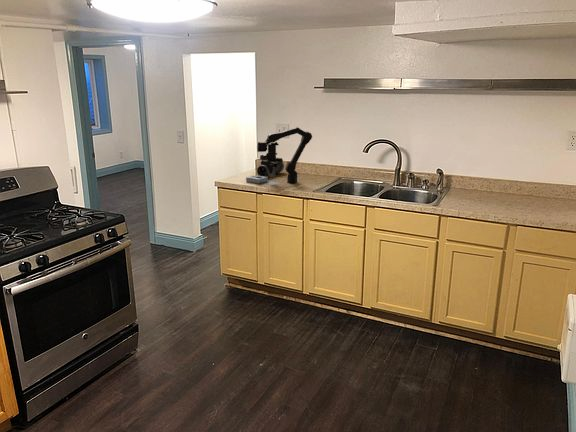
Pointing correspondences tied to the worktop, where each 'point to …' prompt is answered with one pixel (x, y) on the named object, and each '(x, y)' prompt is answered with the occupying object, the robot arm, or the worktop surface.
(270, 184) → the mat
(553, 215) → the worktop surface
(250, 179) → the outlet block
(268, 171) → the plug
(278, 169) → the muzzle brake
